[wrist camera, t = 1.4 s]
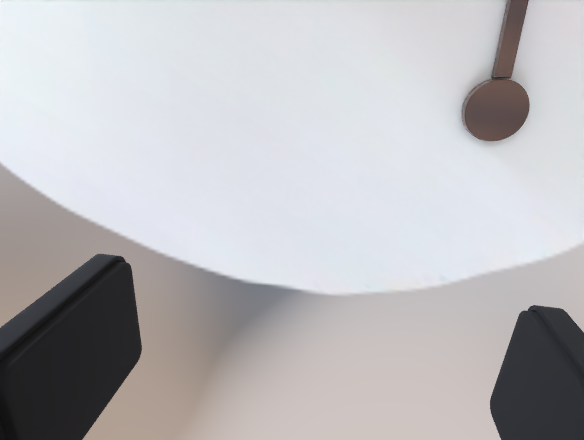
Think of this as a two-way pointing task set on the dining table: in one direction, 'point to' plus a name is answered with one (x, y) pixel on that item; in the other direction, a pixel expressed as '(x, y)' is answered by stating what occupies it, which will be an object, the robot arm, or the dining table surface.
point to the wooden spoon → (500, 86)
